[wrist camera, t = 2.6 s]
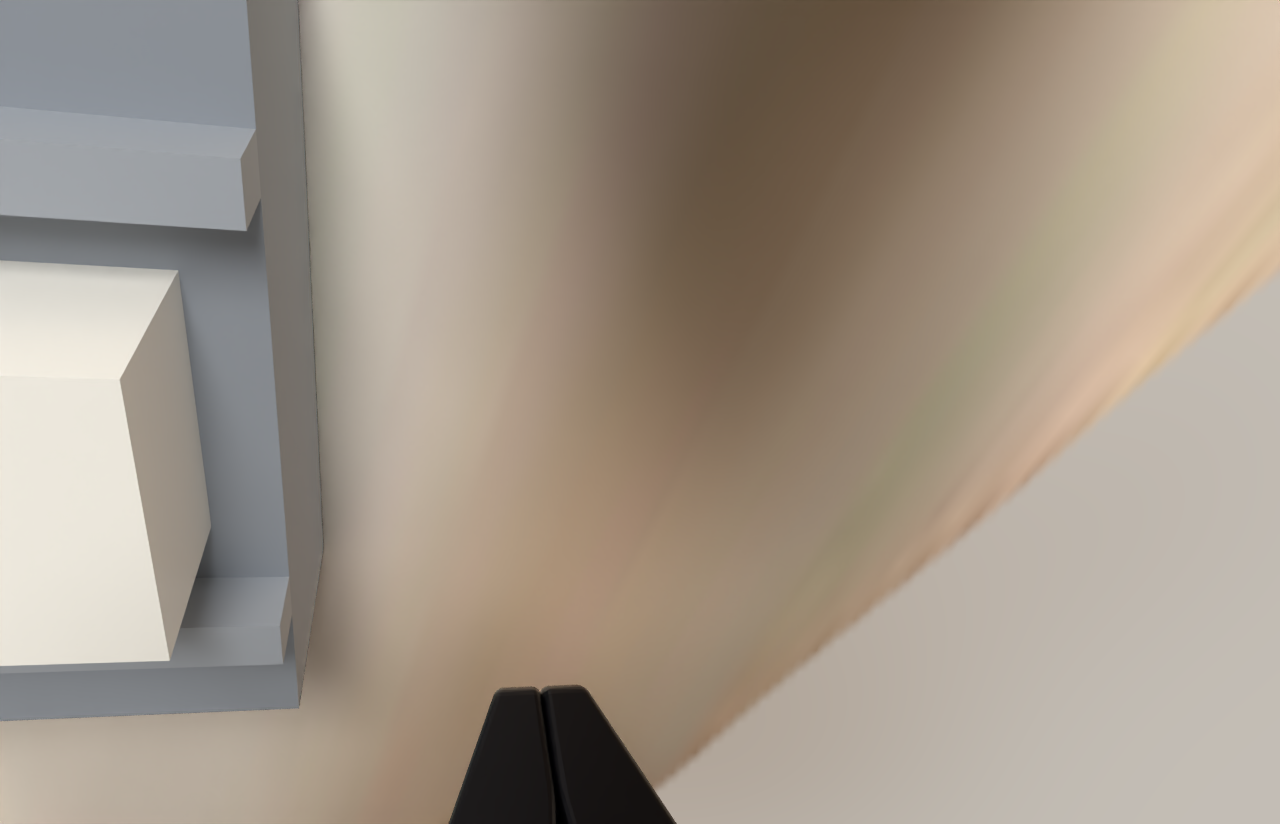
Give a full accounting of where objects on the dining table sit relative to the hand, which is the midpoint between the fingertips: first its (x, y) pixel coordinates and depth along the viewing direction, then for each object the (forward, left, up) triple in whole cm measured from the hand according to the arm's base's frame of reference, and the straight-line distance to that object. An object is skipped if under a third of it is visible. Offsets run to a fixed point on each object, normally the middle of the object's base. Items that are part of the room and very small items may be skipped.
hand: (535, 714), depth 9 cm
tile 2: (+6, 0, -5) cm, 8 cm away
